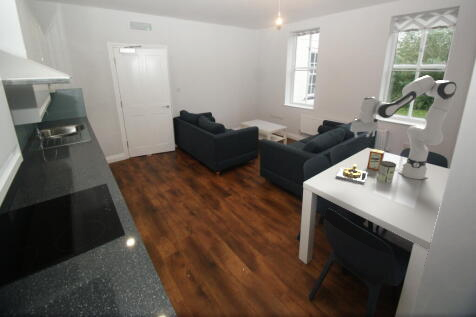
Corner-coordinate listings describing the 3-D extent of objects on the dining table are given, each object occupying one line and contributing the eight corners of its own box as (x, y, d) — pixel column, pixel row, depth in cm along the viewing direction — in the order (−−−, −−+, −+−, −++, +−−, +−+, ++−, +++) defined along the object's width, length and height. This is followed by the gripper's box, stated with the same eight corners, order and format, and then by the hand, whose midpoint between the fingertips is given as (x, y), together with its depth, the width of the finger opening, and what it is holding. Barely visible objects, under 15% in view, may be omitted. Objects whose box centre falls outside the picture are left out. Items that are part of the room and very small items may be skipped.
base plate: (341, 169, 198) (342, 162, 196) (367, 174, 188) (368, 167, 185) (335, 177, 183) (336, 171, 181) (363, 184, 172) (365, 176, 170)
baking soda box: (381, 168, 198) (384, 150, 192) (379, 171, 193) (383, 153, 187) (368, 165, 203) (372, 148, 197) (366, 168, 199) (370, 150, 193)
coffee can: (380, 176, 184) (384, 159, 179) (394, 180, 176) (398, 163, 171) (373, 179, 179) (377, 162, 174) (388, 184, 171) (392, 167, 166)
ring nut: (341, 174, 183) (342, 170, 181) (346, 167, 196) (347, 162, 195) (360, 178, 176) (360, 173, 174) (363, 170, 189) (364, 165, 188)
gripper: (355, 120, 168) (351, 138, 173) (380, 119, 170) (376, 137, 175) (350, 118, 173) (346, 136, 178) (374, 118, 176) (370, 135, 181)
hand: (361, 137), depth 177 cm, fingers open, 8 cm apart
